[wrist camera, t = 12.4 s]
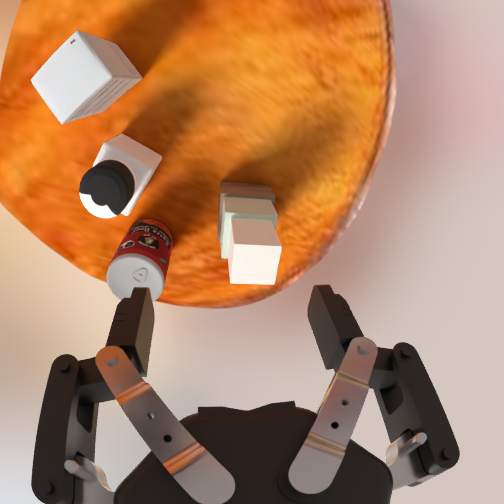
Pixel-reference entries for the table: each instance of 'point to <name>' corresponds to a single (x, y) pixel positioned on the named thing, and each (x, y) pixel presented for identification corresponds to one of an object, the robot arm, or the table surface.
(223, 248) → the sage block
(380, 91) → the table surface
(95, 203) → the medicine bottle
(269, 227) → the cream block
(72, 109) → the supplement box
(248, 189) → the walnut base block
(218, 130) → the table surface
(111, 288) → the canned food
